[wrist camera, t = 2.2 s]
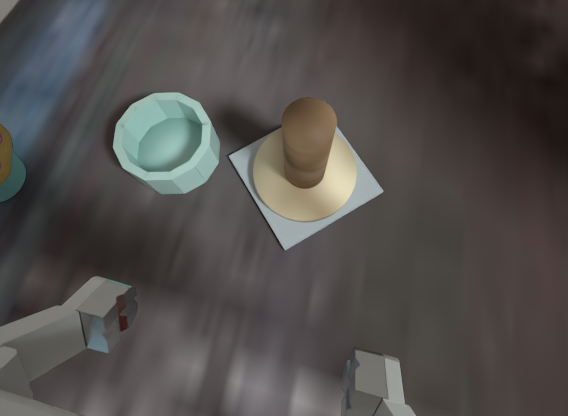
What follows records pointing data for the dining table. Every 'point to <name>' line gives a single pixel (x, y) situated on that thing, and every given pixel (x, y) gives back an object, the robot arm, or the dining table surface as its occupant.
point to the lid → (305, 164)
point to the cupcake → (9, 168)
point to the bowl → (167, 143)
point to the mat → (299, 231)
